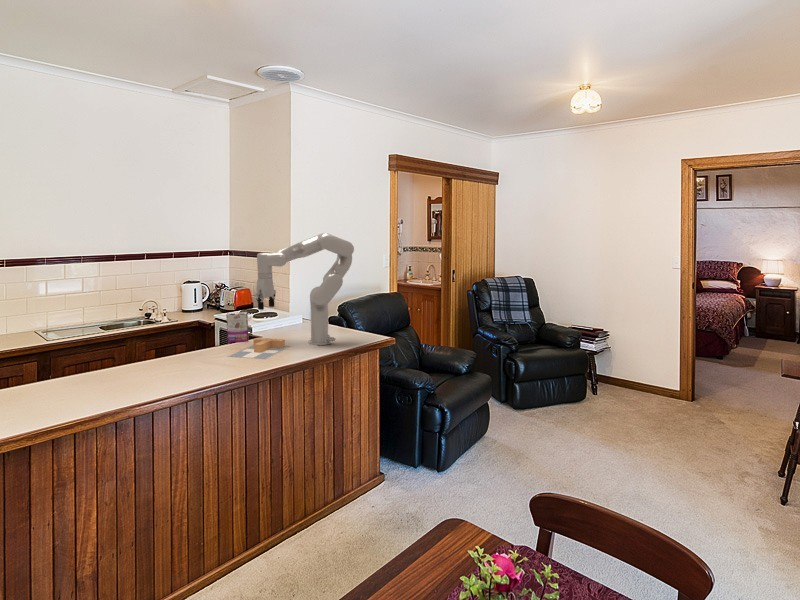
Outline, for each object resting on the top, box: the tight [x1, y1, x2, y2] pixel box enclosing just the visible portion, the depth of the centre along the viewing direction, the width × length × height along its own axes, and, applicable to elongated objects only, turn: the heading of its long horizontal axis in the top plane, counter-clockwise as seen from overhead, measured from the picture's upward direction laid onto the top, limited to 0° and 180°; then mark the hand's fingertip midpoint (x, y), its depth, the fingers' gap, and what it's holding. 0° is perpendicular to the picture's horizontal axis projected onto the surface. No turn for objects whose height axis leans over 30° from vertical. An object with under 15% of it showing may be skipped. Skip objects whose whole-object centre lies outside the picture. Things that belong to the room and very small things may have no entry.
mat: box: [227, 344, 291, 360], centre depth 266 cm, size 20×30×1 cm, turn 169°
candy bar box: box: [225, 311, 249, 344], centre depth 288 cm, size 11×5×16 cm, turn 105°
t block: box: [252, 337, 286, 353], centre depth 270 cm, size 16×15×4 cm
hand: (266, 308), depth 277 cm, fingers open, 9 cm apart
